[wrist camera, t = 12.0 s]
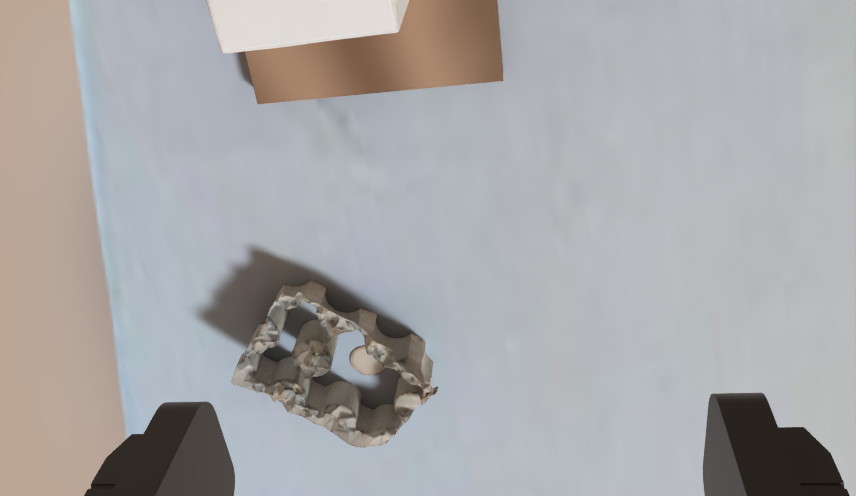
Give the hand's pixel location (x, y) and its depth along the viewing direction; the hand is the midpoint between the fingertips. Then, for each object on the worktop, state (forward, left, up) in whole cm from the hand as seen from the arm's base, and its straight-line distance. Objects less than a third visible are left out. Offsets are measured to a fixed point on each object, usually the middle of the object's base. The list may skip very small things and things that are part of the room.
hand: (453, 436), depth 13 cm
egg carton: (+10, +20, -29) cm, 36 cm away
